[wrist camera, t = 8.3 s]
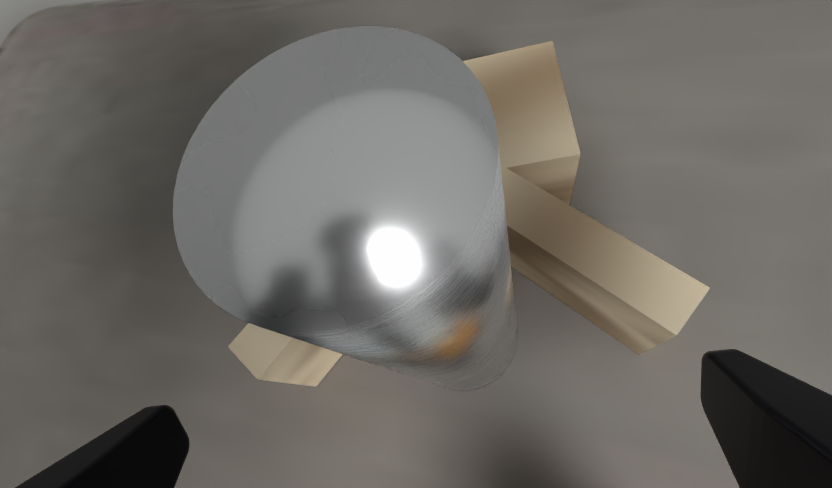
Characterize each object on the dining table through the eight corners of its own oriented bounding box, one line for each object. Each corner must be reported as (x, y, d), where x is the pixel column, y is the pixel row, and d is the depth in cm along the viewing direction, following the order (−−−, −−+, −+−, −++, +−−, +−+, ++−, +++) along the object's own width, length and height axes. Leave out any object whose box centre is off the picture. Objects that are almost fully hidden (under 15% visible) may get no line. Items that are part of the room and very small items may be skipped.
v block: (673, 351, 14) (723, 330, 11) (290, 389, 17) (225, 383, 13) (603, 103, 18) (623, 24, 14) (296, 164, 20) (246, 110, 17)
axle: (472, 416, 15) (330, 420, 4) (386, 343, 17) (117, 205, 6) (540, 321, 16) (574, 104, 5) (451, 259, 17) (319, -12, 6)
